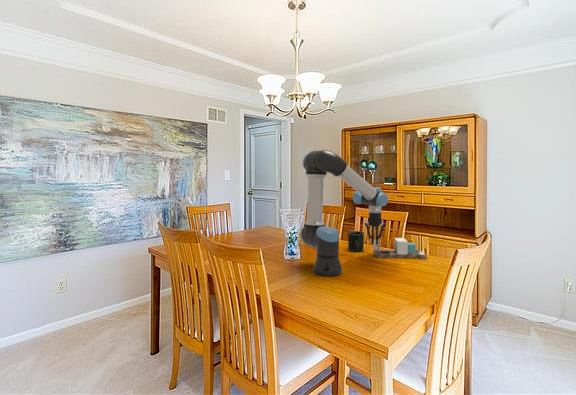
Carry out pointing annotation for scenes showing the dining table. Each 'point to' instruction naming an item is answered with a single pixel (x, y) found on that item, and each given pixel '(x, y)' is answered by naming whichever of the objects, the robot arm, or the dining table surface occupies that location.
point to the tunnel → (401, 246)
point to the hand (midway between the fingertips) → (374, 249)
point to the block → (411, 247)
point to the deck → (398, 255)
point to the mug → (355, 241)
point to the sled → (395, 250)
